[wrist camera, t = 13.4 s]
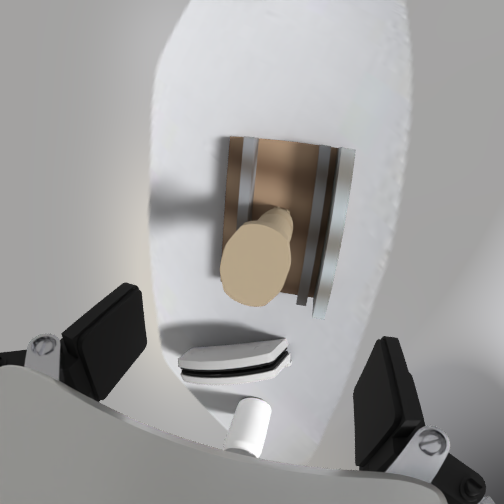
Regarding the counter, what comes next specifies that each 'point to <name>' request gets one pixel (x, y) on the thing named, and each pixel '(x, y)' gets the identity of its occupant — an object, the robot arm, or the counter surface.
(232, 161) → the track
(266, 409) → the can
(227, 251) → the handle
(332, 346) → the counter surface
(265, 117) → the counter surface
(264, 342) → the grey curved slotted block
